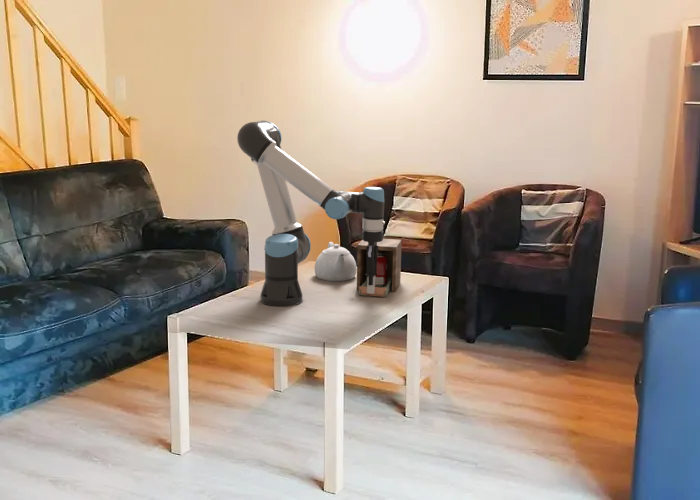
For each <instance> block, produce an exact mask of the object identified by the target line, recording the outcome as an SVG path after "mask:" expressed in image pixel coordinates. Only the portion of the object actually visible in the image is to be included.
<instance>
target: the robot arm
mask: <svg viewBox="0 0 700 500" xmlns="http://www.w3.org/2000/svg"><path fill="white" fill-rule="evenodd" d="M236 140H237V144H238V146H239V148H240V150H241V151H242V152H243V153H244V154H245V155H247V156H248V157H249V158H250V160H251V162H252V163H253V164H255V165H256V166H257V170H258V173H259V176H260V180H261V183H262V187H263V191H264V194H265V195H264V196H265V198H266V202H267V205H268V209H269V212H270V216H271V219H272V223H273V226H274V227H273V230H272V232H271V235H270V236H268V237H266V238H265V242H264V243H265V244H264V273H265V274H264V282H263V284H262V285H263V286H262V288H261V292H260V294H259V295H260V297H259V298H260V300H259V301H260V302H261V304H264V305H268V306H275V307H288V306H295V305H299V304H301V303H303V292H302V288H301V286H300V282H299V278H298V275H299V274H298V273H299V272H298V271H299V264H300V263H302V262H304V260H306V258H308V255H309V253H310V252H311V250H312V249H311V246H312V244H311V240H310V237H309V236H308V234H306V232H305V230H304V228H303V224H301V223H299V222H298V220H297V218H296V213H295V209H294V206H293V203H292V199H291V196H290V192H289V189H288V184H290V185H291V186H293V187H294V188H296V189H297V190H298V191H299V192H301V193H302V194H303V195H305V196H306V197H307V198H309V199H310V200H311V201H312V202H314V203H315V204H316V205H318V206H319V207H320V208H321V209H323V210H324V211H325V214H326V215H327V216H328V218H330V219H333V220H340V219H344V218H345V217H346V216H347V215H348V214H350V213H351V214H352V213H353V214H362V224H361V225H362V229H363V230H362V231H361V232H362V233H361V235H362V237H361V238H362V239H361V241H362V240H363V241H367V242H368V245H367V246H366V251H367V252H366V262H367V273H366V275H365V276H367V293H371V294H374V293H375V275H377V274H378V273H376V271H377V270H376V267H377V254H378V245H377V242H381V241H382V240H383V239H384V225H385V224H386V222H385V221H384V219H385V218H384V215H385V214H384V213H385V203H386V202H385V191H384V188H382V187H379V186H378V187H377V186H366V187H364V188H363V191H362V192H357V191H356V192H355V191H343V190H339V191H337V190H335V189H334V188H332V187H331V186H330V185H328V184H327V183H326V182H324V181H323V180H321V178H319V177H318V176H316V175H315V174H314V173H313V172H311V171H310V170H308V169H307V168H306V167H304V166H303V165H302V164H300V162H298V161H297V160H296V159H294V158H293V157H291V156H290V155H289V154H287V153H286V152H285V151H284V150H282V147H281V143H282V133H281V131H280V129H279V128H278V126H277V125H276V124H274V123H273V122H271V121H268V120H257V121H250V122H246V123H245V124H244V125H242V126H241V128H240V129H239V130H238V133H237V139H236ZM287 183H288V184H287Z"/></svg>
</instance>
